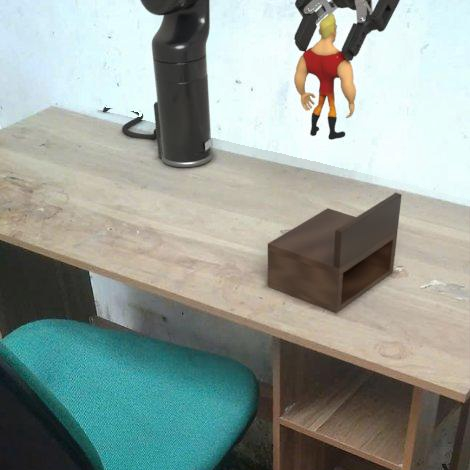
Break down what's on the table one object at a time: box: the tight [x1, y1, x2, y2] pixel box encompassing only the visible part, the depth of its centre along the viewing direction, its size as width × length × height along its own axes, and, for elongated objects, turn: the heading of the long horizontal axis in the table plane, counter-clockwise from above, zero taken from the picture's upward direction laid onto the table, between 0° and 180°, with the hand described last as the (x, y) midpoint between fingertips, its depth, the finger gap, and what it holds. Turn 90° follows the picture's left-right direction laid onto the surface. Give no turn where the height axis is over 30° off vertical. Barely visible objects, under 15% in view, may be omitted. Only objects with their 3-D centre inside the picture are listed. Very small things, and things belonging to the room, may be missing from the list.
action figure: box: [293, 13, 357, 141], centre depth 107 cm, size 10×4×15 cm, turn 54°
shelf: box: [267, 192, 403, 314], centre depth 110 cm, size 12×14×12 cm
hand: (322, 52), depth 104 cm, fingers closed on action figure, 7 cm apart
